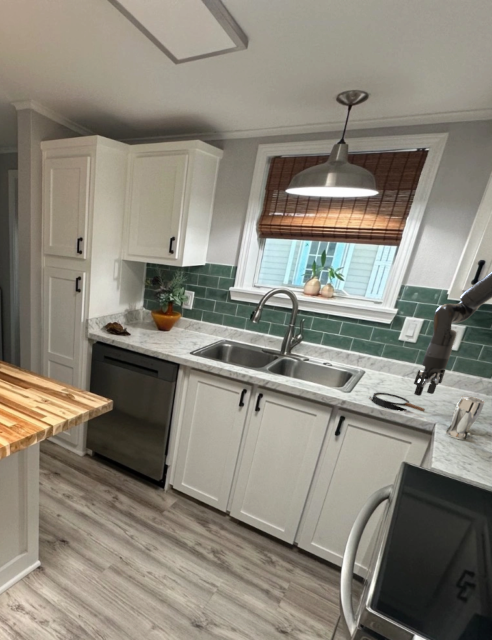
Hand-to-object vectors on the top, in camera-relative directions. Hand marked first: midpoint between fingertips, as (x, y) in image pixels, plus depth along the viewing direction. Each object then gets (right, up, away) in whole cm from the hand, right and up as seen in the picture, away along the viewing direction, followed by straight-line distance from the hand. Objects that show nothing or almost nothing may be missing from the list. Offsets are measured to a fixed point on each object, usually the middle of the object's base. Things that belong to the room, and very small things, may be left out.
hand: (423, 394), depth 165 cm
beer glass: (+1, -16, -13) cm, 20 cm away
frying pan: (-4, -6, +10) cm, 13 cm away
